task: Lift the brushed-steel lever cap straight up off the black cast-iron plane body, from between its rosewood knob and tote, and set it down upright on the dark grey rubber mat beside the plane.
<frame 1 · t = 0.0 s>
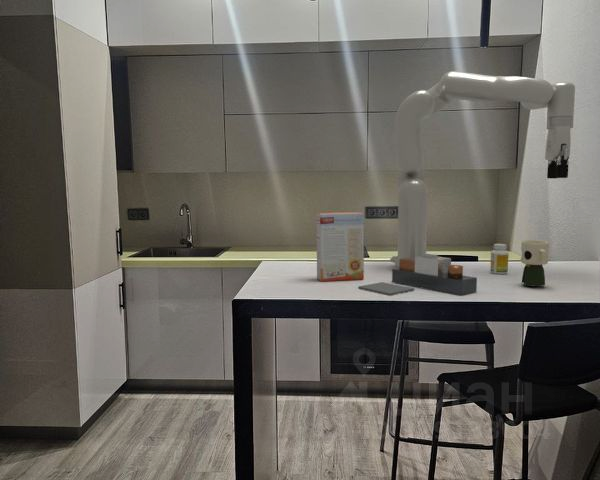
hand: (557, 178, 160), 31 cm above the table, tool pointing down, fingers open, 9 cm apart
rubber mat: (385, 289, 140), on the table
lever cap: (432, 273, 143), point 4 cm above the table, touching plane body
plane body: (432, 286, 144), on the table
character mug: (533, 286, 144), on the table
cracker box: (339, 279, 156), on the table
supplement bottle: (498, 273, 166), on the table
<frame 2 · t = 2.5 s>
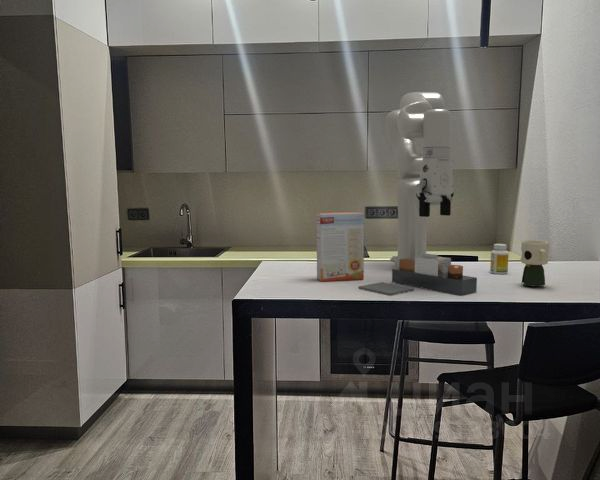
hand: (435, 215, 141), 20 cm above the table, tool pointing down, fingers open, 9 cm apart
nothing on the table moved.
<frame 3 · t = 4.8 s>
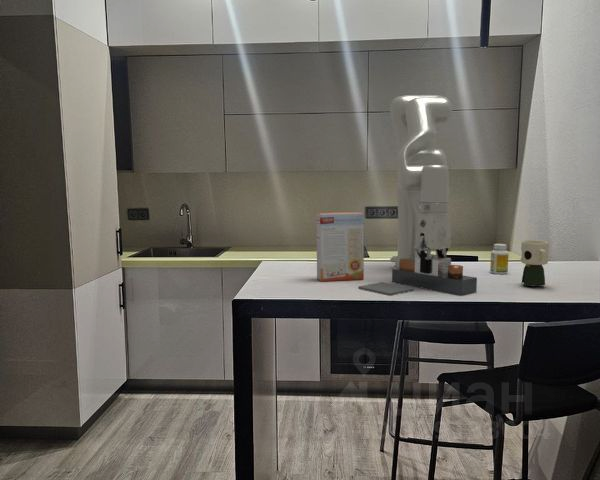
hand: (432, 271, 143), 5 cm above the table, tool pointing down, fingers closed on lever cap, 6 cm apart
lever cap: (432, 273, 143), point 4 cm above the table, touching gripper, plane body
everything else where it was.
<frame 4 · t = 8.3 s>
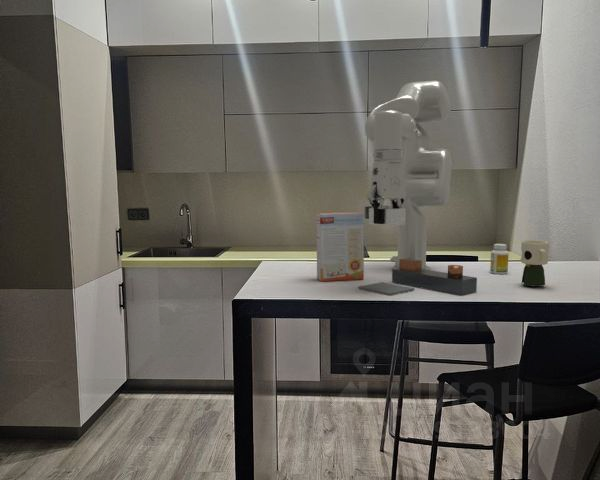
hand: (386, 222, 138), 19 cm above the table, tool pointing down, fingers closed on lever cap, 6 cm apart
lever cap: (387, 224, 138), point 18 cm above the table, touching gripper
everything else where it was.
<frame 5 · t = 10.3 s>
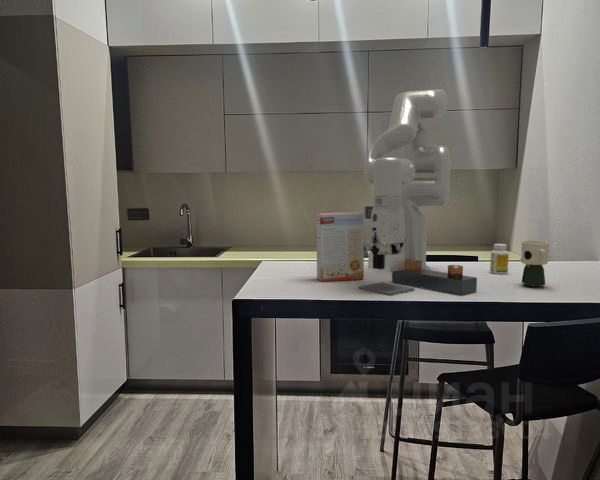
hand: (386, 266, 139), 6 cm above the table, tool pointing down, fingers closed on lever cap, 6 cm apart
lever cap: (386, 269, 139), point 6 cm above the table, touching gripper
everything else where it was.
when the fingers open (2 cm above the table, at t = 12.1 s): lever cap drops 1 cm, resting on rubber mat.
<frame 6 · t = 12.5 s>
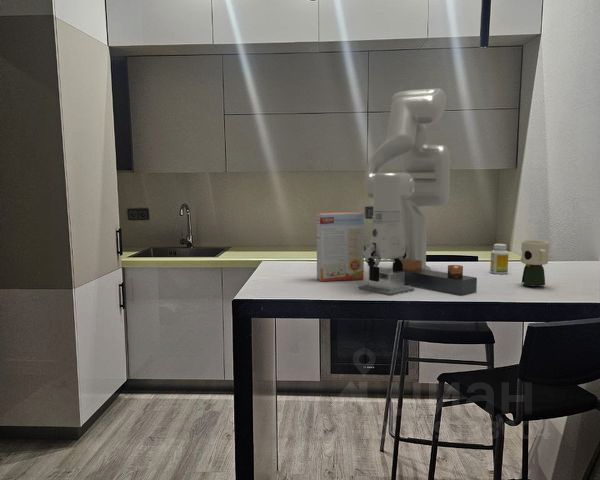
hand: (386, 278, 140), 3 cm above the table, tool pointing down, fingers open, 9 cm apart
lever cap: (386, 287, 140), point 1 cm above the table, touching rubber mat
everything else where it was.
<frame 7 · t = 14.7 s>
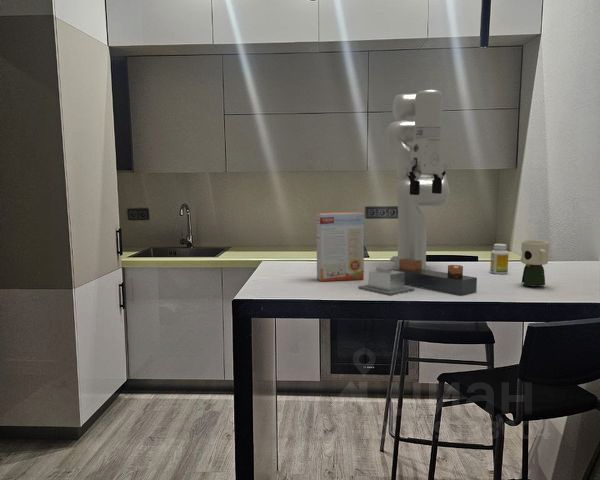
hand: (425, 194, 147), 27 cm above the table, tool pointing down, fingers open, 9 cm apart
nothing on the table moved.
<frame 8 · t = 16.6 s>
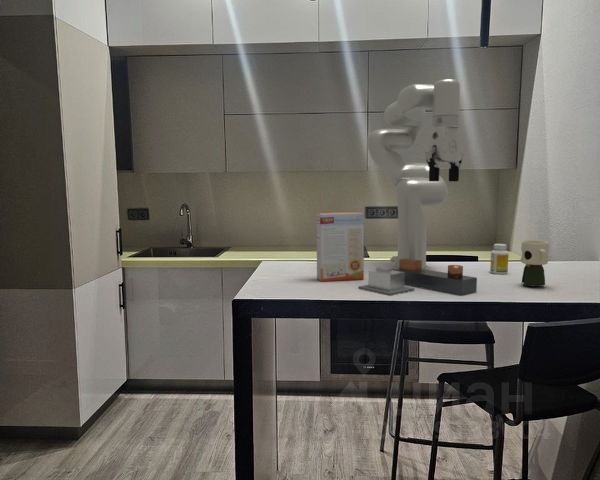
hand: (444, 181, 150), 30 cm above the table, tool pointing down, fingers open, 9 cm apart
nothing on the table moved.
at the end: lever cap inside the target area on the rubber mat (0.1 cm from its centre), point 0.6 cm above the rubber mat's base; lever cap tilted 0°; the gripper is holding nothing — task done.
